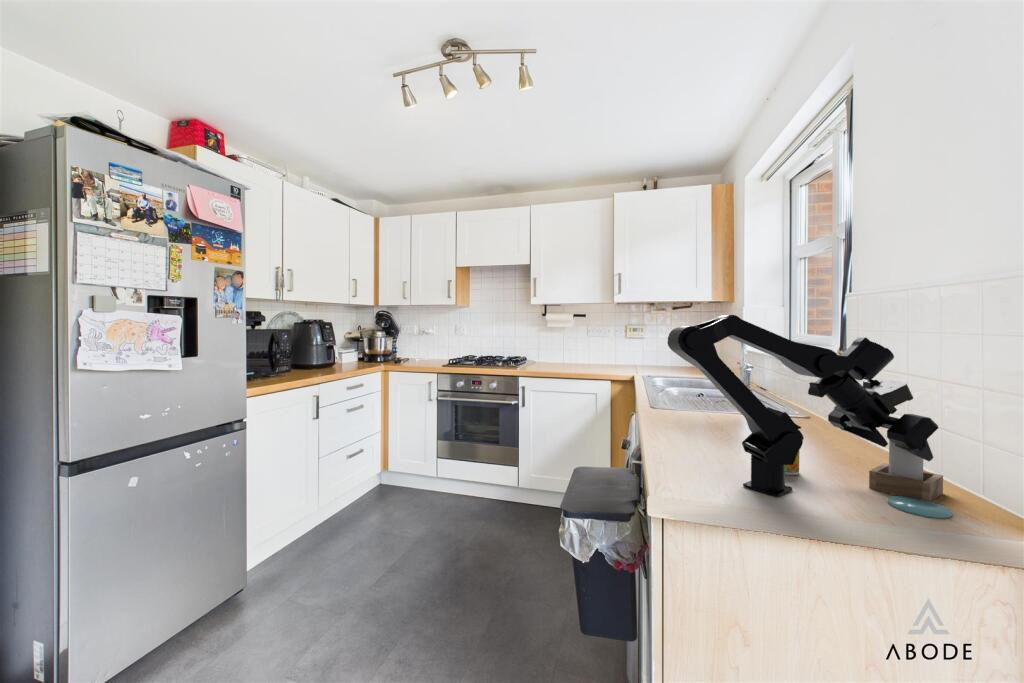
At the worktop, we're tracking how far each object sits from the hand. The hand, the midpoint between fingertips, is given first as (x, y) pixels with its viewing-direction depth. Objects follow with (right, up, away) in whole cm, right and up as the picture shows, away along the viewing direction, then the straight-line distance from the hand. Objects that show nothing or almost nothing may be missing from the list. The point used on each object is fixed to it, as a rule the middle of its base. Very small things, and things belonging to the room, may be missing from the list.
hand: (907, 451), depth 78 cm
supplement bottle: (-17, -8, +11) cm, 21 cm away
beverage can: (0, -8, 0) cm, 8 cm away
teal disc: (-6, -8, -8) cm, 12 cm away
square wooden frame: (0, -8, 0) cm, 8 cm away
